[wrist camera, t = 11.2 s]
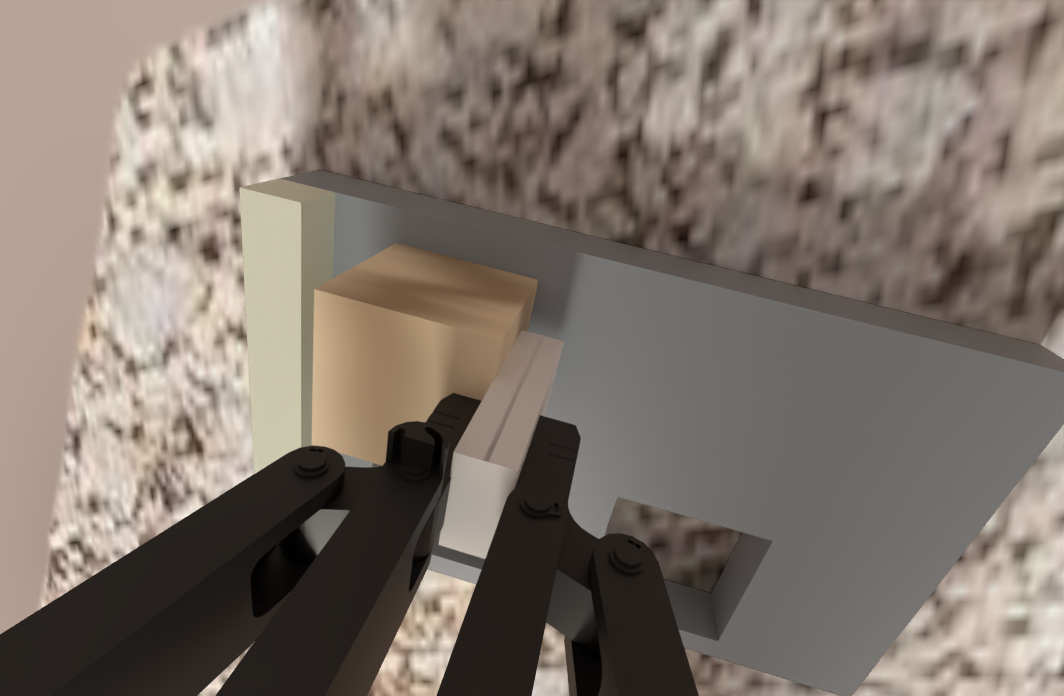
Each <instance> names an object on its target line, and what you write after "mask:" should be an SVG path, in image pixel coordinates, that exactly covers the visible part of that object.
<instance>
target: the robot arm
mask: <svg viewBox="0 0 1064 696" xmlns="http://www.w3.org/2000/svg"><path fill="white" fill-rule="evenodd" d="M563 344H564V341H561V340H557V339H554V338H550V337H546V336H542V335H539V334H535V333H531V332H527V331H524V330H522V331H521V332H520V334H519V336H518V338H517V340H516V341H515V343H514V345H513V347H512V349H511V351H510V352H509V354H508V356H507V358H506V360H505V361H504V363H503V365H502V367H501V369H500V370H499V372H498V374H497V376H496V378H495V379H494V381H493V382H492V384H491V385H490V387H489V389H488V391H487V393H486V394H485V396H484V398H483V400H482V401H480V400H477V399H473V398H470V397H466V396H463V395H459V394H456V393H452V394H451V395H449V396H447V397H445V398H443V399H441V400H440V402H439V403H438V405H437V406H436V408H435V409H434V410H433V413H431V415H430V416H429V418H428V419H427V422H419V421H414V422H405V423H402V424H399V425H396V426H394V427H393V428H392V429H391V430H389V431H388V440H387V451H386V462H385V463H384V465H383V466H379V467H346V466H345V461H344V459H343V456H342V455H341V454H339V453H338V452H337V451H336V450H334V449H331V448H328V447H325V446H307V447H301V448H298V449H296V450H293V451H291V452H289V453H287V454H285V455H284V456H282V457H281V458H279V459H278V460H276V461H274V462H273V463H271V464H270V465H268V466H266V467H265V468H263V469H262V470H260V471H259V472H257V473H255V474H254V475H252V476H251V477H249V478H247V479H246V480H244V481H243V482H241V483H239V484H238V485H236V486H235V487H233V488H232V489H230V490H228V491H227V492H225V493H224V494H222V495H220V496H219V497H217V498H216V499H214V500H213V501H211V502H209V503H208V504H206V505H205V506H203V507H201V508H200V509H198V510H197V511H195V512H194V513H192V514H190V515H189V516H187V517H186V518H184V519H182V520H181V521H179V522H178V523H176V524H175V525H173V526H171V527H170V528H168V529H167V530H165V531H163V532H162V533H160V534H159V535H157V536H156V537H154V538H152V539H151V540H149V541H148V542H146V543H144V544H143V545H141V546H140V547H138V548H137V549H135V550H133V551H132V552H130V553H129V554H127V555H125V556H124V557H122V558H121V559H119V560H118V561H116V562H114V563H113V564H111V565H110V566H108V567H106V568H105V569H103V570H102V571H100V572H99V573H97V574H95V575H94V576H92V577H91V578H89V579H87V580H86V581H84V582H83V583H81V584H79V585H78V586H76V587H75V588H73V589H72V590H70V591H68V592H67V593H65V594H64V595H62V596H60V597H59V598H57V599H56V600H54V601H53V602H51V603H49V604H48V605H46V606H45V607H43V608H41V609H40V610H38V611H37V612H35V613H34V614H32V615H30V616H29V617H27V618H26V619H24V620H23V621H21V622H20V623H18V624H16V625H15V626H13V627H11V628H10V629H8V630H7V631H5V632H3V633H2V634H0V696H197V695H198V694H199V693H200V692H201V691H202V690H203V689H205V688H206V687H207V686H208V685H209V684H210V683H211V682H212V681H213V680H214V679H215V678H216V677H217V676H218V675H219V674H221V673H222V672H223V671H224V670H225V669H226V668H227V667H228V666H229V665H230V664H231V663H232V662H233V661H234V660H235V659H237V658H238V657H239V656H240V655H241V654H242V653H243V652H244V651H245V650H246V649H247V648H248V647H249V646H250V645H251V644H253V643H254V644H253V645H252V646H251V648H250V649H249V650H248V652H247V653H246V655H245V656H244V657H243V659H242V660H241V661H240V663H239V664H238V666H237V667H236V668H235V670H234V671H233V672H232V674H231V675H230V677H229V678H228V679H227V681H226V682H225V683H224V685H223V686H222V688H221V689H220V690H219V692H218V693H217V694H216V696H367V695H368V693H369V691H370V688H371V686H372V684H373V682H374V680H375V678H376V676H377V674H378V672H379V669H380V667H381V665H382V663H383V661H384V659H385V657H386V655H387V653H388V650H389V648H390V646H391V644H392V642H393V640H394V638H395V636H396V634H397V631H398V629H399V627H400V625H401V623H402V621H403V619H404V617H405V615H406V613H407V610H408V608H409V606H410V604H411V602H412V600H413V598H414V596H415V594H416V591H417V589H418V587H419V585H420V583H421V581H422V579H423V577H424V575H425V572H426V570H427V568H428V566H429V564H430V560H431V555H432V549H433V546H434V544H435V542H436V540H437V538H438V536H439V534H440V538H439V544H438V545H441V546H444V547H447V548H451V549H454V550H457V551H460V552H464V553H467V554H470V555H474V556H477V557H480V558H483V559H485V561H484V564H483V567H482V570H481V573H480V575H479V578H478V581H477V584H476V587H475V589H474V592H473V595H472V598H471V601H470V603H469V606H468V609H467V612H466V615H465V618H464V620H463V623H462V626H461V629H460V632H459V634H458V637H457V640H456V643H455V646H454V648H453V651H452V654H451V657H450V660H449V663H448V665H447V668H446V671H445V674H444V677H443V679H442V682H441V685H440V688H439V691H438V693H437V696H531V695H532V690H533V685H534V680H535V675H536V670H537V665H538V660H539V655H540V650H541V645H542V640H543V635H544V630H545V624H546V622H547V623H548V624H549V625H551V626H552V627H554V628H555V629H557V630H558V631H560V632H561V633H562V634H564V635H565V639H564V642H565V652H566V662H567V672H568V683H569V693H570V696H698V692H697V689H696V686H695V682H694V679H693V676H692V672H691V669H690V666H689V662H688V659H687V656H686V652H685V649H684V646H683V642H682V639H681V636H680V632H679V629H678V626H677V623H676V619H675V616H674V613H673V609H672V606H671V603H670V599H669V596H668V593H667V589H666V586H665V583H664V579H663V576H662V573H661V569H660V566H659V563H658V561H657V559H656V557H655V555H654V553H653V552H652V551H651V550H650V549H649V548H648V547H647V546H646V545H645V544H644V543H643V542H641V541H639V540H637V539H636V538H634V537H632V536H628V535H624V534H621V533H620V534H608V535H606V536H604V537H602V538H600V539H598V538H596V537H595V536H593V535H591V534H590V533H588V532H587V531H585V530H584V529H583V528H581V527H580V526H579V525H578V524H577V523H576V522H575V521H574V519H573V517H572V516H571V514H570V511H569V508H568V500H569V495H570V490H571V485H572V480H573V475H574V470H575V465H576V460H577V455H578V451H579V446H580V441H581V437H580V434H579V432H578V429H577V427H576V425H573V424H570V423H566V422H563V421H559V420H556V419H552V418H549V417H545V415H546V411H547V407H548V403H549V399H550V395H551V391H552V387H553V383H554V379H555V375H556V371H557V367H558V364H559V360H560V356H561V352H562V348H563ZM440 531H441V532H440Z"/></svg>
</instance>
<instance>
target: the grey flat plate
mask: <svg viewBox="0 0 1064 696" xmlns="http://www.w3.org/2000/svg"><path fill="white" fill-rule="evenodd" d="M240 203H241V223H242V243H243V263H244V283H245V303H246V323H247V343H248V363H249V383H250V402H251V422H252V442H253V462H254V474H255V473H257V472H259V471H260V470H262V469H263V468H265V467H266V466H268V465H270V464H271V463H273V462H274V461H276V460H278V459H279V458H281V457H282V456H284V455H285V454H287V453H289V452H291V451H293V450H296V449H298V448H301V447H307V446H315V445H312V391H313V330H314V289H315V288H317V287H319V286H321V285H322V284H324V283H326V282H328V281H329V280H331V279H333V278H335V277H336V276H338V275H340V274H342V273H344V272H345V271H347V270H349V269H351V268H352V267H354V266H356V265H358V264H360V263H361V262H363V261H365V260H367V259H368V258H370V257H372V256H374V255H376V254H377V253H379V252H381V251H383V250H384V249H386V248H388V247H390V246H392V245H393V244H395V243H399V244H403V245H407V246H411V247H415V248H419V249H423V250H427V251H430V252H434V253H438V254H442V255H446V256H450V257H453V258H457V259H461V260H465V261H469V262H473V263H476V264H480V265H484V266H488V267H492V268H496V269H500V270H503V271H507V272H511V273H515V274H519V275H523V276H526V277H530V278H534V279H538V280H539V281H538V286H537V291H536V295H535V300H534V304H533V309H532V314H531V318H530V323H529V328H528V332H531V333H535V334H539V335H542V336H546V337H550V338H554V339H557V340H561V341H564V344H563V348H562V352H561V356H560V360H559V364H558V367H557V371H556V375H555V379H554V383H553V387H552V391H551V395H550V399H549V403H548V407H547V411H546V415H545V417H549V418H552V419H556V420H559V421H563V422H566V423H570V424H573V425H576V427H577V429H578V432H579V434H580V437H581V441H580V446H579V451H578V455H577V460H576V465H575V470H574V475H573V480H572V485H571V490H570V495H569V500H568V508H569V511H570V514H571V516H572V517H573V519H574V521H575V522H576V523H577V524H578V525H579V526H580V527H581V528H583V529H584V530H585V531H587V532H588V533H590V534H591V535H593V536H595V537H596V538H598V539H600V538H602V537H604V535H605V532H606V529H607V526H608V523H609V520H610V518H611V515H612V512H613V509H614V506H615V503H616V500H617V498H618V497H620V498H623V499H627V500H630V501H634V502H637V503H641V504H644V505H648V506H651V507H655V508H659V509H662V510H666V511H669V512H673V513H676V514H680V515H683V516H687V517H690V518H694V519H697V520H701V521H704V522H708V523H711V524H715V525H718V526H722V527H725V528H729V529H732V530H736V531H739V532H743V533H742V535H741V536H740V538H739V540H738V542H737V544H736V546H735V548H734V550H733V552H732V554H731V556H730V558H729V560H728V562H727V564H726V566H725V568H724V570H723V572H722V574H721V576H720V578H719V580H718V582H717V584H716V586H715V588H714V590H713V592H712V593H708V592H705V591H702V590H698V589H695V588H692V587H688V586H685V585H681V584H678V583H675V582H671V581H668V580H665V579H664V583H665V586H666V589H667V593H668V596H669V599H670V603H671V606H672V609H673V613H674V616H675V619H676V623H677V626H678V629H679V632H680V636H681V639H682V642H683V646H684V648H686V649H689V650H693V651H696V652H699V653H702V654H706V655H709V656H712V657H715V658H719V659H722V660H725V661H728V662H732V663H735V664H738V665H742V666H745V667H748V668H751V669H755V670H758V671H761V672H764V673H768V674H771V675H774V676H777V677H781V678H784V679H787V680H791V681H794V682H797V683H800V684H804V685H807V686H810V687H813V688H817V689H820V690H823V691H826V692H830V693H833V694H836V695H840V696H852V695H853V694H854V692H855V691H856V690H857V689H858V687H859V686H860V685H861V683H862V682H863V681H864V680H865V678H866V677H867V676H868V674H869V673H870V672H871V671H872V669H873V668H874V667H875V665H876V664H877V663H878V662H879V660H880V659H881V658H882V656H883V655H884V654H885V653H886V651H887V650H888V649H889V647H890V646H891V645H892V644H893V642H894V641H895V640H896V638H897V637H898V636H899V635H900V633H901V632H902V631H903V629H904V628H905V627H906V626H907V624H908V623H909V622H910V621H911V619H912V618H913V617H914V615H915V614H916V613H917V612H918V610H919V609H920V608H921V606H922V605H923V604H924V603H925V601H926V600H927V599H928V597H929V596H930V595H931V594H932V592H933V591H934V590H935V588H936V587H937V586H938V585H939V583H940V582H941V581H942V579H943V578H944V577H945V576H946V574H947V573H948V572H949V570H950V569H951V568H952V567H953V565H954V564H955V563H956V561H957V560H958V559H959V558H960V556H961V555H962V554H963V553H964V551H965V550H966V549H967V547H968V546H969V545H970V544H971V542H972V541H973V540H974V538H975V537H976V536H977V535H978V533H979V532H980V531H981V529H982V528H983V527H984V526H985V524H986V523H987V522H988V520H989V519H990V518H991V517H992V515H993V514H994V513H995V511H996V510H997V509H998V508H999V506H1000V505H1001V504H1002V502H1003V501H1004V500H1005V499H1006V497H1007V496H1008V495H1009V493H1010V492H1011V491H1012V490H1013V488H1014V487H1015V486H1016V484H1017V483H1018V482H1019V481H1020V479H1021V478H1022V477H1023V476H1024V474H1025V473H1026V472H1027V470H1028V469H1029V468H1030V467H1031V465H1032V464H1033V463H1034V461H1035V460H1036V459H1037V458H1038V456H1039V455H1040V454H1041V452H1042V451H1043V450H1044V449H1045V447H1046V446H1047V445H1048V443H1049V442H1050V441H1051V440H1052V438H1053V437H1054V436H1055V434H1056V433H1057V432H1058V431H1059V429H1060V428H1061V427H1062V425H1063V424H1064V359H1062V358H1061V357H1059V356H1058V355H1056V354H1054V353H1053V352H1051V351H1050V350H1048V349H1046V348H1045V347H1043V346H1041V345H1037V344H1033V343H1029V342H1025V341H1021V340H1017V339H1013V338H1009V337H1004V336H1000V335H996V334H992V333H988V332H984V331H980V330H976V329H972V328H968V327H963V326H959V325H955V324H951V323H947V322H943V321H939V320H935V319H931V318H926V317H922V316H918V315H914V314H910V313H906V312H902V311H898V310H894V309H890V308H885V307H881V306H877V305H873V304H869V303H865V302H861V301H857V300H853V299H848V298H844V297H840V296H836V295H832V294H828V293H824V292H820V291H816V290H812V289H807V288H803V287H799V286H795V285H791V284H787V283H783V282H779V281H775V280H770V279H766V278H762V277H758V276H754V275H750V274H746V273H742V272H738V271H734V270H729V269H725V268H721V267H717V266H713V265H709V264H705V263H701V262H697V261H692V260H688V259H684V258H680V257H676V256H672V255H668V254H664V253H660V252H656V251H651V250H647V249H643V248H639V247H635V246H631V245H627V244H623V243H619V242H614V241H610V240H606V239H602V238H598V237H594V236H590V235H586V234H582V233H577V232H573V231H569V230H565V229H561V228H557V227H553V226H549V225H545V224H541V223H536V222H532V221H528V220H524V219H520V218H516V217H512V216H508V215H504V214H499V213H495V212H491V211H487V210H483V209H479V208H475V207H471V206H467V205H463V204H458V203H454V202H450V201H446V200H442V199H438V198H434V197H430V196H426V195H421V194H417V193H413V192H409V191H405V190H401V189H397V188H393V187H389V186H385V185H380V184H376V183H372V182H368V181H364V180H360V179H356V178H352V177H348V176H343V175H339V174H335V173H331V172H327V171H323V170H317V171H312V172H308V173H303V174H299V175H294V176H290V177H285V178H280V179H276V180H271V181H267V182H262V183H258V184H253V185H248V186H244V187H240ZM339 454H341V455H342V456H343V459H344V461H345V466H346V467H379V466H381V465H378V464H375V463H371V462H368V461H365V460H361V459H358V458H355V457H352V456H348V455H345V454H342V453H339ZM440 532H441V531H440ZM439 538H440V534H439V536H438V538H437V540H436V542H435V544H434V546H433V549H432V555H431V560H430V564H429V566H428V568H427V569H428V570H431V571H434V572H438V573H441V574H444V575H448V576H451V577H454V578H457V579H461V580H464V581H467V582H470V583H474V584H477V581H478V578H479V575H480V573H481V570H482V567H483V564H484V561H485V559H483V558H480V557H477V556H474V555H470V554H467V553H464V552H460V551H457V550H454V549H451V548H447V547H444V546H441V545H438V544H439Z"/></svg>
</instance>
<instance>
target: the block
mask: <svg viewBox="0 0 1064 696" xmlns="http://www.w3.org/2000/svg"><path fill="white" fill-rule="evenodd" d="M538 281H539V280H538V279H534V278H530V277H526V276H523V275H519V274H515V273H511V272H507V271H503V270H500V269H496V268H492V267H488V266H484V265H480V264H476V263H473V262H469V261H465V260H461V259H457V258H453V257H450V256H446V255H442V254H438V253H434V252H430V251H427V250H423V249H419V248H415V247H411V246H407V245H403V244H399V243H395V244H393V245H392V246H390V247H388V248H386V249H384V250H383V251H381V252H379V253H377V254H376V255H374V256H372V257H370V258H368V259H367V260H365V261H363V262H361V263H360V264H358V265H356V266H354V267H352V268H351V269H349V270H347V271H345V272H344V273H342V274H340V275H338V276H336V277H335V278H333V279H331V280H329V281H328V282H326V283H324V284H322V285H321V286H319V287H317V288H315V289H314V330H313V391H312V445H315V446H325V447H328V448H331V449H334V450H336V451H337V452H338V453H342V454H345V455H348V456H352V457H355V458H358V459H361V460H365V461H368V462H371V463H375V464H378V465H381V466H383V465H384V463H385V462H386V451H387V440H388V431H389V430H391V429H392V428H393V427H394V426H396V425H399V424H402V423H405V422H414V421H419V422H427V419H428V418H429V416H430V415H431V413H433V410H434V409H435V408H436V406H437V405H438V403H439V402H440V400H441V399H443V398H445V397H447V396H449V395H451V394H452V393H456V394H459V395H463V396H466V397H470V398H473V399H477V400H480V401H482V400H483V398H484V396H485V394H486V393H487V391H488V389H489V387H490V385H491V384H492V382H493V381H494V379H495V378H496V376H497V374H498V372H499V370H500V369H501V367H502V365H503V363H504V361H505V360H506V358H507V356H508V354H509V352H510V351H511V349H512V347H513V345H514V343H515V341H516V340H517V338H518V336H519V334H520V332H521V331H522V330H524V331H527V332H528V328H529V323H530V318H531V314H532V309H533V304H534V300H535V295H536V291H537V286H538Z"/></svg>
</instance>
